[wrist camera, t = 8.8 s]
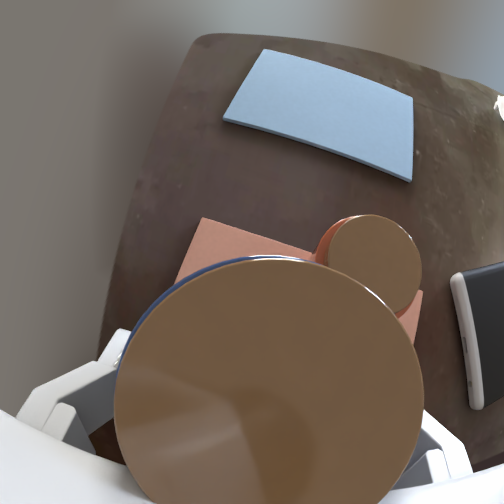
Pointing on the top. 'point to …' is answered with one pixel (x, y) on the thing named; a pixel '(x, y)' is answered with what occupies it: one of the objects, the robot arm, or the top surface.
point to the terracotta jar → (374, 258)
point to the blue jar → (268, 388)
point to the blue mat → (327, 111)
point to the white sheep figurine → (500, 106)
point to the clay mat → (248, 244)
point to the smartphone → (481, 330)
